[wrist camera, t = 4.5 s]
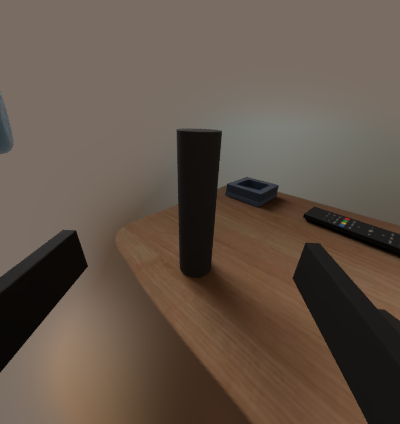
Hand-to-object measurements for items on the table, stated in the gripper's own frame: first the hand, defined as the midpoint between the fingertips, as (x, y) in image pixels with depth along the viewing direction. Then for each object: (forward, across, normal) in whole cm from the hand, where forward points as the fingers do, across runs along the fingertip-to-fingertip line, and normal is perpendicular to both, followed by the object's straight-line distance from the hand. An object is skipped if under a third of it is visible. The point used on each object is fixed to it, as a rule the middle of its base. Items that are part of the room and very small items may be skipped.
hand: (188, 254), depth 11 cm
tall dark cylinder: (+9, 0, -10) cm, 13 cm away
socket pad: (+34, +12, -10) cm, 38 cm away
